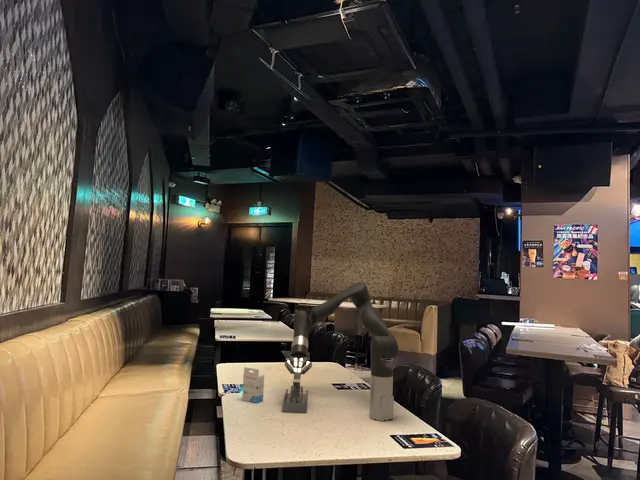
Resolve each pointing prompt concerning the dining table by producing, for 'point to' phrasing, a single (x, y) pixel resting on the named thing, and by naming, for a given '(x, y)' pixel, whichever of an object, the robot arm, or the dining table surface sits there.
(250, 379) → the ink box
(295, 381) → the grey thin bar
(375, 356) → the robot arm
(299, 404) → the heat sink
